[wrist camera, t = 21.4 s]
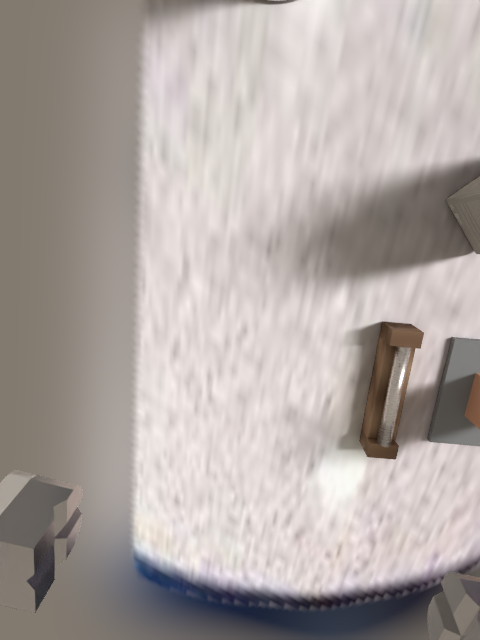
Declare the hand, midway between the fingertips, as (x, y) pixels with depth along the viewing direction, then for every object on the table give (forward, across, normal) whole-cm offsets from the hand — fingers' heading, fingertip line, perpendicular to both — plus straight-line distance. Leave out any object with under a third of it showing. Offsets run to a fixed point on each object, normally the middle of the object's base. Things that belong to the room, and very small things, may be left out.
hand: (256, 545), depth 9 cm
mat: (+33, -25, +10) cm, 42 cm away
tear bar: (+32, -14, +11) cm, 37 cm away
